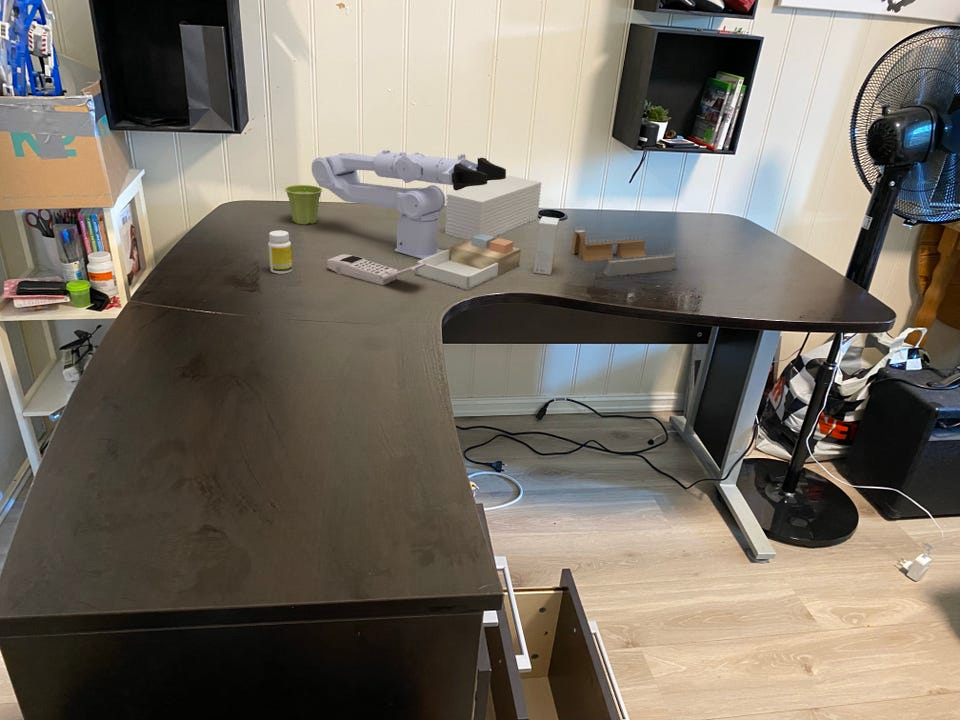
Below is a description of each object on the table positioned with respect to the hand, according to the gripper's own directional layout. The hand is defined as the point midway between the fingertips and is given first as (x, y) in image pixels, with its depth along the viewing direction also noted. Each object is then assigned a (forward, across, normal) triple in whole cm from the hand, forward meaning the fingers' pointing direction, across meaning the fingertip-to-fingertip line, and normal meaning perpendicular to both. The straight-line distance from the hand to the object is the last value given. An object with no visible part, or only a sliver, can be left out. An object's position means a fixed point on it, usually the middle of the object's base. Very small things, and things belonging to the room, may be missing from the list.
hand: (496, 176), depth 152 cm
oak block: (-5, +4, +21) cm, 22 cm away
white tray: (-6, -7, +21) cm, 23 cm away
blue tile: (-7, +5, +17) cm, 19 cm away
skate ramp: (+15, +32, +24) cm, 43 cm away
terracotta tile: (-2, +5, +18) cm, 18 cm away
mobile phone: (-19, -21, +21) cm, 35 cm away
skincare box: (+7, +10, +23) cm, 26 cm away
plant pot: (-59, -1, +17) cm, 61 cm away
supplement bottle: (-36, -31, +19) cm, 51 cm away
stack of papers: (-21, +33, +20) cm, 44 cm away
